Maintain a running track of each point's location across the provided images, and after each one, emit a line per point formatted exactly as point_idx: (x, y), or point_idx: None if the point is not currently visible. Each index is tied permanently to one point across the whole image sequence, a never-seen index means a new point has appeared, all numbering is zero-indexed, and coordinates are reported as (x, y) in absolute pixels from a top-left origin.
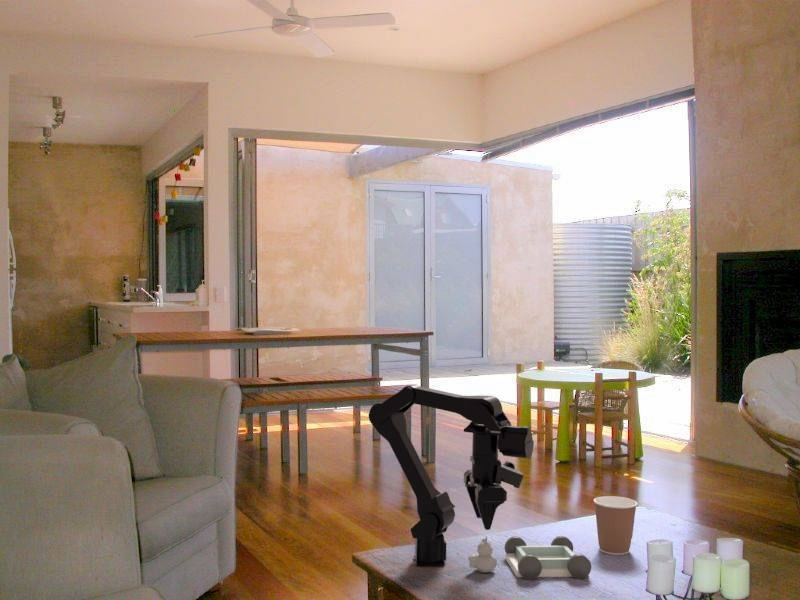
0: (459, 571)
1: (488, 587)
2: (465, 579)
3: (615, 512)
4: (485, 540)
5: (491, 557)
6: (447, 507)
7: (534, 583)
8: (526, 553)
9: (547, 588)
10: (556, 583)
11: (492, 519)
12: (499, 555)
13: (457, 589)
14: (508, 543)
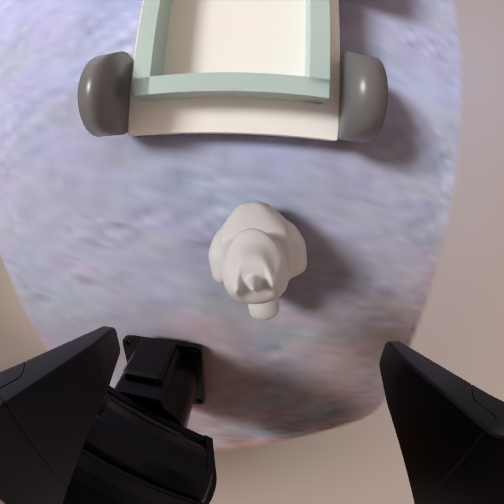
0: (248, 315)
1: (398, 263)
2: (322, 313)
3: None
4: (259, 287)
5: (286, 238)
6: (139, 492)
7: (389, 107)
8: (161, 60)
9: (429, 90)
10: (391, 43)
11: (449, 374)
12: (95, 150)
13: None
14: (109, 122)
